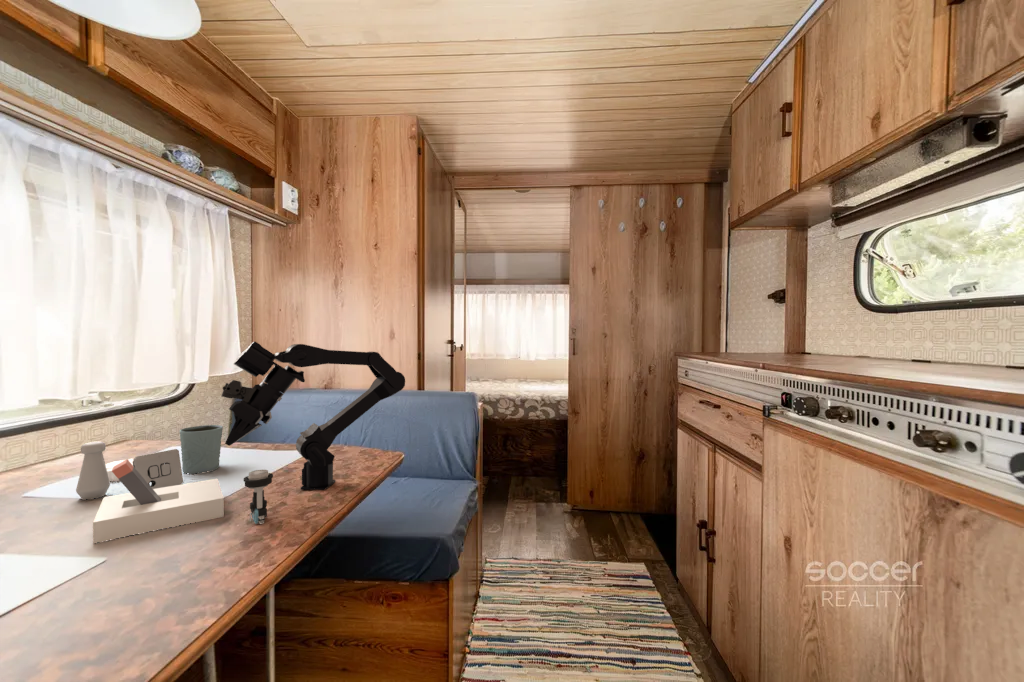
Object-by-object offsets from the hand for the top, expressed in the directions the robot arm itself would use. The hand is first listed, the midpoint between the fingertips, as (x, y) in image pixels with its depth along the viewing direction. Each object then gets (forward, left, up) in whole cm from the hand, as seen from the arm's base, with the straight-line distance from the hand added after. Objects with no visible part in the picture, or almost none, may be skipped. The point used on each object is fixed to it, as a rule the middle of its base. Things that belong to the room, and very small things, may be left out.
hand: (227, 444), depth 99 cm
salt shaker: (+34, -4, -14) cm, 37 cm away
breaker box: (+9, +7, -13) cm, 18 cm away
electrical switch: (+24, -10, -14) cm, 29 cm away
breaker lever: (+10, +8, -11) cm, 17 cm away
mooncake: (+41, -21, -14) cm, 48 cm away
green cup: (+24, -26, -14) cm, 38 cm away
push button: (-13, +10, -14) cm, 21 cm away
